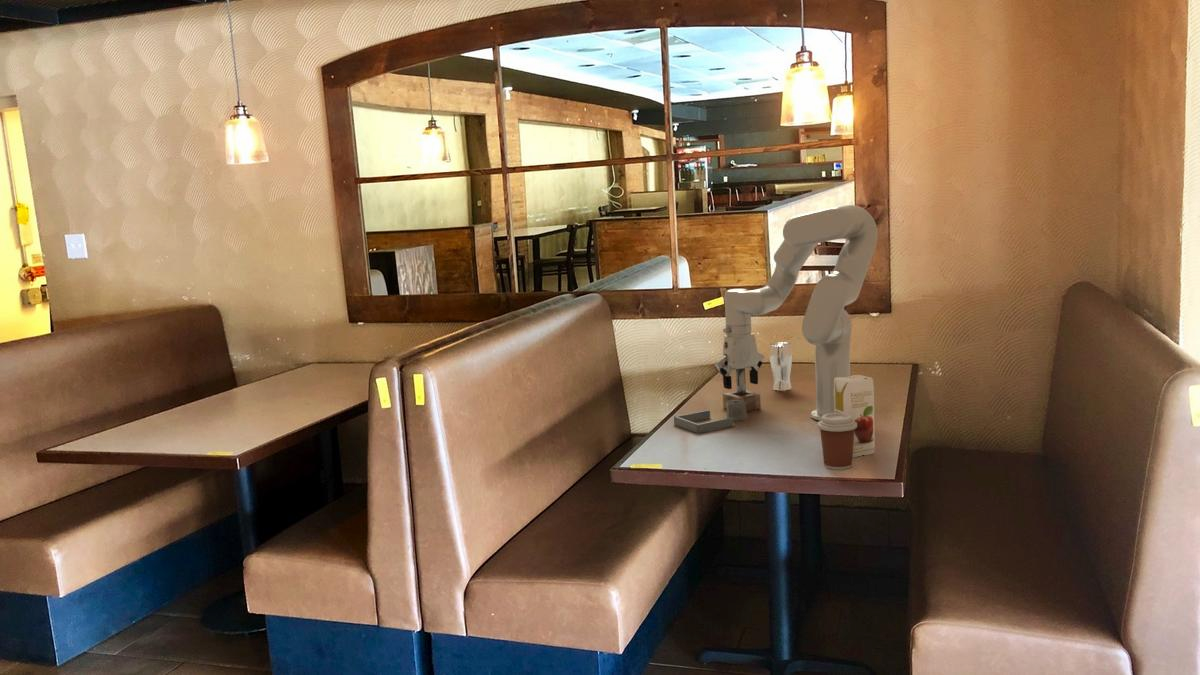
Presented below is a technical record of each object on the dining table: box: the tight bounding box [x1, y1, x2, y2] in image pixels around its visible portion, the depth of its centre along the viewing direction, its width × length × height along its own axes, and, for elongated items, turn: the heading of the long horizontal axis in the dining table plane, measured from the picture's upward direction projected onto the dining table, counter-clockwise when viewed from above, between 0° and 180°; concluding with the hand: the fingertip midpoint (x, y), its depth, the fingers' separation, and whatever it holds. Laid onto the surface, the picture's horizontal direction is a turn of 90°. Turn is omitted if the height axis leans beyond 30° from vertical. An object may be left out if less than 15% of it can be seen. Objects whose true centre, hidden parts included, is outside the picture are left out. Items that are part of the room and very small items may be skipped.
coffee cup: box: [816, 413, 857, 471], centre depth 216 cm, size 9×9×12 cm
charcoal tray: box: [673, 409, 735, 434], centre depth 261 cm, size 12×12×2 cm
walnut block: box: [722, 389, 762, 412], centre depth 278 cm, size 8×8×4 cm
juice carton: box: [834, 374, 876, 459], centre depth 224 cm, size 8×9×19 cm
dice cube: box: [726, 400, 747, 421], centre depth 266 cm, size 5×5×5 cm
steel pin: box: [735, 368, 747, 396], centre depth 277 cm, size 3×3×13 cm
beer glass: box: [769, 342, 793, 392], centre depth 298 cm, size 7×7×15 cm
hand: (740, 386), depth 277 cm, fingers open, 9 cm apart
